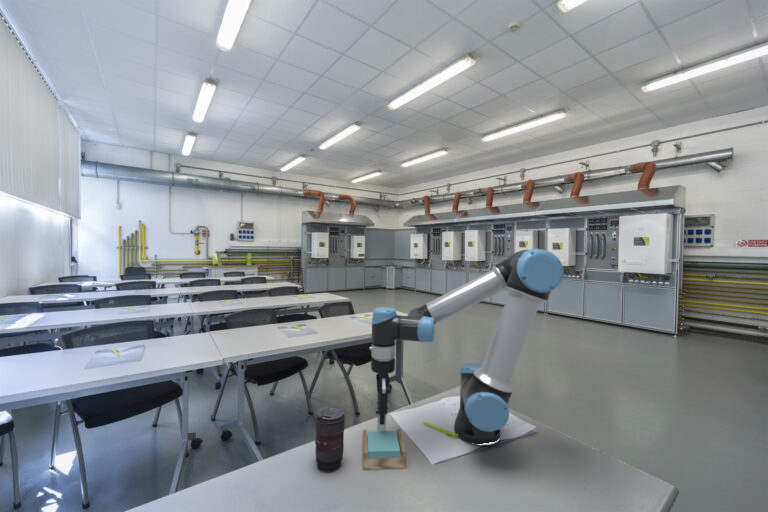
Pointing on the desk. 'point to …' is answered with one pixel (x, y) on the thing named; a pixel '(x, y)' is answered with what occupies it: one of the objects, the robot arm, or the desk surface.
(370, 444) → the cover plate
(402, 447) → the wooden channel tray
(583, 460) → the desk surface
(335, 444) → the camera lens
